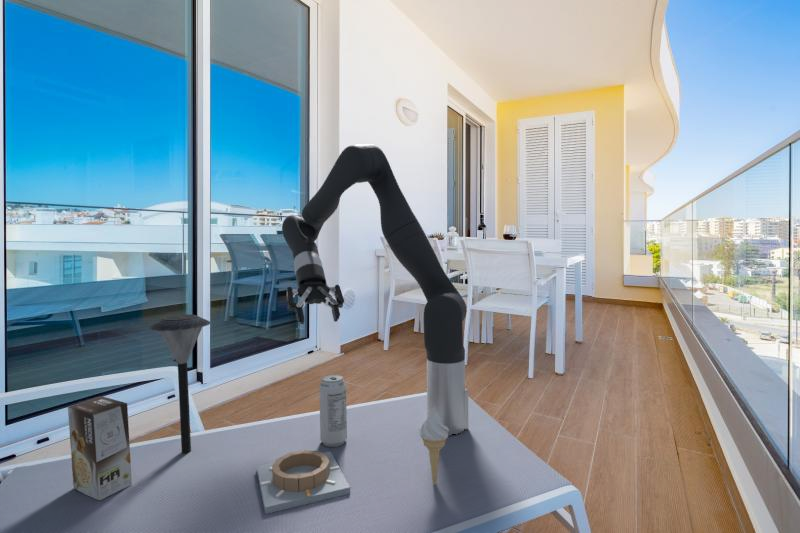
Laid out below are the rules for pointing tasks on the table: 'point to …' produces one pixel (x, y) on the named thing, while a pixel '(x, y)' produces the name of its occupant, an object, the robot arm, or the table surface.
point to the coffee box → (100, 446)
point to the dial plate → (300, 480)
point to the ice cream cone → (434, 439)
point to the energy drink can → (333, 410)
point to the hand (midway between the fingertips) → (319, 321)
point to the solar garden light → (181, 359)
